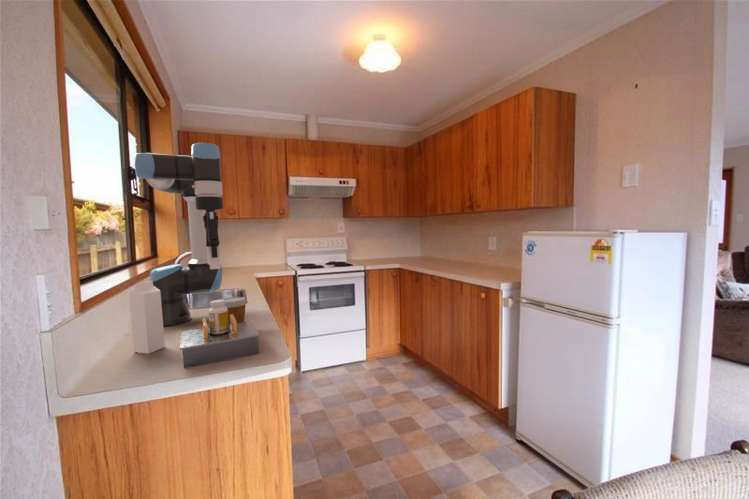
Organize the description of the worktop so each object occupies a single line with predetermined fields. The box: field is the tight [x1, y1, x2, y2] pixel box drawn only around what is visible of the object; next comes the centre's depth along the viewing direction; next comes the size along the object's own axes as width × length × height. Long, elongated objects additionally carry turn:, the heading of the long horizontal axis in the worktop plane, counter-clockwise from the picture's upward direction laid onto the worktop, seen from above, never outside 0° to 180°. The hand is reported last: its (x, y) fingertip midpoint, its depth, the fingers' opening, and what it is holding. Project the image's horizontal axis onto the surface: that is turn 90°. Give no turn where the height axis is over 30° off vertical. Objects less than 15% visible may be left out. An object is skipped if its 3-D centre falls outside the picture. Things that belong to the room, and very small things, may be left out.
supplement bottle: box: [208, 299, 229, 334], centre depth 104 cm, size 5×5×10 cm
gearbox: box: [179, 314, 261, 369], centre depth 105 cm, size 17×21×10 cm
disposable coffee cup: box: [221, 296, 248, 324], centre depth 125 cm, size 10×10×12 cm
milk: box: [128, 280, 166, 355], centre depth 108 cm, size 6×6×22 cm
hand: (213, 266), depth 104 cm, fingers open, 13 cm apart
